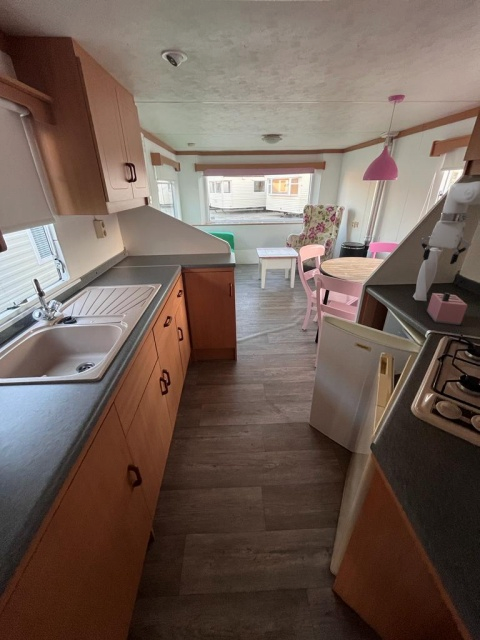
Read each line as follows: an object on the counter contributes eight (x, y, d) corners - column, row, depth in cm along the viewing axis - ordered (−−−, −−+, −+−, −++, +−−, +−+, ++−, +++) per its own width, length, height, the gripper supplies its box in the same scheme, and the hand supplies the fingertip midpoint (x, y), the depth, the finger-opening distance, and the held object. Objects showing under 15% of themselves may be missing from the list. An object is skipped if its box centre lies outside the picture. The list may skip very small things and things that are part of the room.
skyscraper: (430, 302, 136) (447, 246, 124) (413, 300, 138) (429, 245, 126) (425, 297, 143) (441, 243, 131) (409, 295, 145) (424, 243, 133)
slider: (447, 299, 113) (449, 292, 112) (449, 301, 111) (451, 294, 110) (441, 299, 114) (443, 292, 112) (443, 300, 112) (445, 293, 111)
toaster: (449, 313, 123) (455, 294, 119) (460, 325, 112) (468, 305, 108) (426, 310, 126) (432, 292, 122) (435, 322, 114) (441, 302, 110)
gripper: (482, 219, 100) (466, 264, 107) (430, 216, 112) (419, 257, 120) (476, 220, 96) (460, 266, 103) (423, 217, 108) (412, 259, 115)
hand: (438, 261), depth 111 cm, fingers open, 9 cm apart
